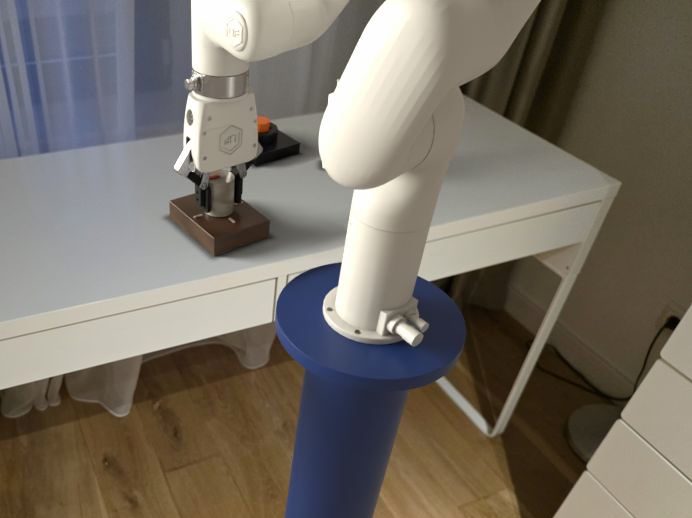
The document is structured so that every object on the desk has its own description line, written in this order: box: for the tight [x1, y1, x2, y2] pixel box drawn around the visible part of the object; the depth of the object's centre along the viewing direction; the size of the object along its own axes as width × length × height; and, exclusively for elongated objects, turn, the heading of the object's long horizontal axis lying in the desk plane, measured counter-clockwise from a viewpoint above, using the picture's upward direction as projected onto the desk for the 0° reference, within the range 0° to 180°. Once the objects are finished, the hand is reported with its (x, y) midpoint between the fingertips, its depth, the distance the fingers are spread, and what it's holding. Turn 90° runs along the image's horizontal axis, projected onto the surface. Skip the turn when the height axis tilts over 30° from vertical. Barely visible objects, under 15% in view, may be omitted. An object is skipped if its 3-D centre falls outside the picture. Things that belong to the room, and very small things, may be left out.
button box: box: [252, 121, 301, 167], centre depth 122 cm, size 12×10×4 cm
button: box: [257, 116, 271, 132], centre depth 121 cm, size 4×4×2 cm
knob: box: [205, 169, 235, 217], centre depth 98 cm, size 5×5×6 cm
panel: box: [168, 192, 271, 257], centre depth 101 cm, size 13×10×3 cm
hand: (218, 203), depth 99 cm, fingers closed on knob, 4 cm apart
